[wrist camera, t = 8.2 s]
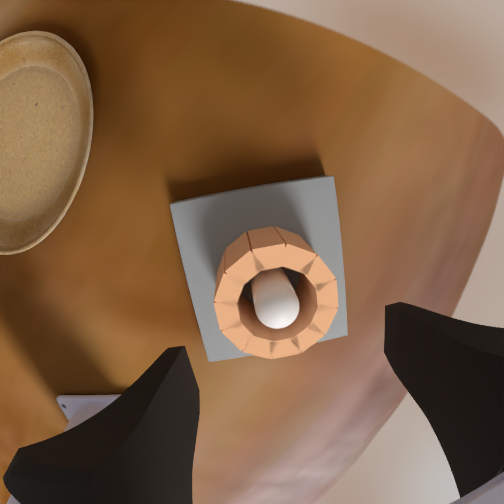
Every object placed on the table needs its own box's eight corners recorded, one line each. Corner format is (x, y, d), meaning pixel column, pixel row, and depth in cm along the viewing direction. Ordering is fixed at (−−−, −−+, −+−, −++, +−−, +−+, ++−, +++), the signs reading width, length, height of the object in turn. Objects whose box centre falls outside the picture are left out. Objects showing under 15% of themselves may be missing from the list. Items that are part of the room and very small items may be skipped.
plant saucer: (-48, 224, 17) (-67, 231, 15) (-18, 49, 14) (-36, 42, 11) (90, 266, 19) (73, 279, 17) (137, 42, 16) (125, 26, 13)
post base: (340, 324, 21) (376, 380, 15) (210, 349, 21) (204, 415, 15) (325, 175, 18) (371, 181, 12) (174, 201, 18) (146, 220, 12)
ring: (320, 310, 19) (340, 344, 15) (229, 328, 19) (229, 366, 15) (310, 219, 17) (332, 234, 14) (209, 237, 17) (203, 258, 14)
